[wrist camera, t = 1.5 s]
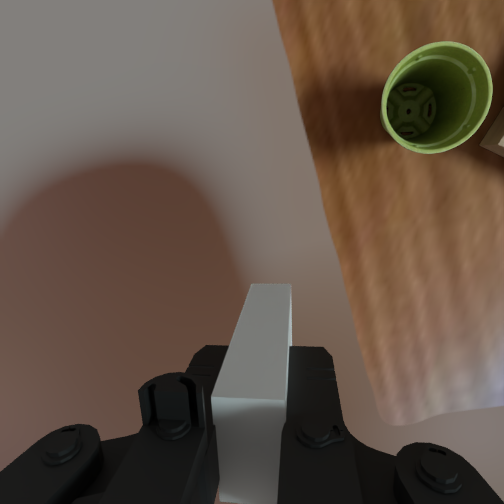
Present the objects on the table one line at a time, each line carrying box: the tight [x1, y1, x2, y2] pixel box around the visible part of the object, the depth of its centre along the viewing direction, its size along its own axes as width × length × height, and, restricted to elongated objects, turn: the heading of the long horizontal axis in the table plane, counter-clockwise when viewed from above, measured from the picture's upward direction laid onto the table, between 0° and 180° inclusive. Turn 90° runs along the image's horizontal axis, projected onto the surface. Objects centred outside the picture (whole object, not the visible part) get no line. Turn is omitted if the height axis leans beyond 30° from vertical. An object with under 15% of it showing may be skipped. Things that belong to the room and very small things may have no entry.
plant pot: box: [380, 42, 493, 154], centre depth 36 cm, size 9×9×9 cm
